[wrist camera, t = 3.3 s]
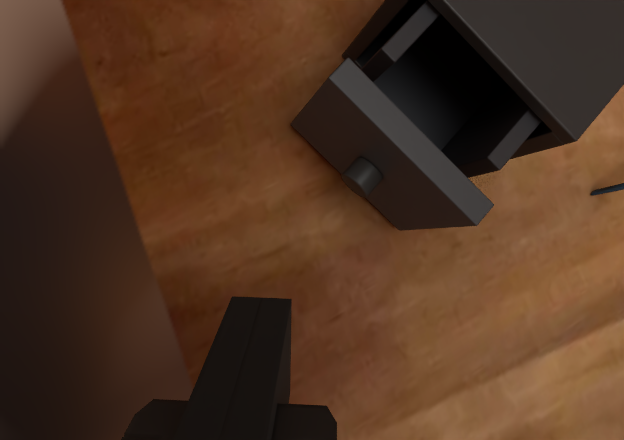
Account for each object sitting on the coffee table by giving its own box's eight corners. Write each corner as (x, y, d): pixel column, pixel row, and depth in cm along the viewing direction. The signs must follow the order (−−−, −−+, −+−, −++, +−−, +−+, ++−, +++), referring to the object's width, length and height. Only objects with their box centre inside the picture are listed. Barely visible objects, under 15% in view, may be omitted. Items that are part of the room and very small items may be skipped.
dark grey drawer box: (457, 173, 33) (577, 141, 23) (341, 56, 32) (411, -34, 22) (582, 29, 35) (743, -59, 25) (477, -86, 34) (600, -229, 24)
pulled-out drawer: (385, 246, 31) (458, 248, 23) (274, 140, 30) (307, 99, 22) (523, 88, 33) (638, 34, 25) (424, -17, 32) (508, -111, 24)
